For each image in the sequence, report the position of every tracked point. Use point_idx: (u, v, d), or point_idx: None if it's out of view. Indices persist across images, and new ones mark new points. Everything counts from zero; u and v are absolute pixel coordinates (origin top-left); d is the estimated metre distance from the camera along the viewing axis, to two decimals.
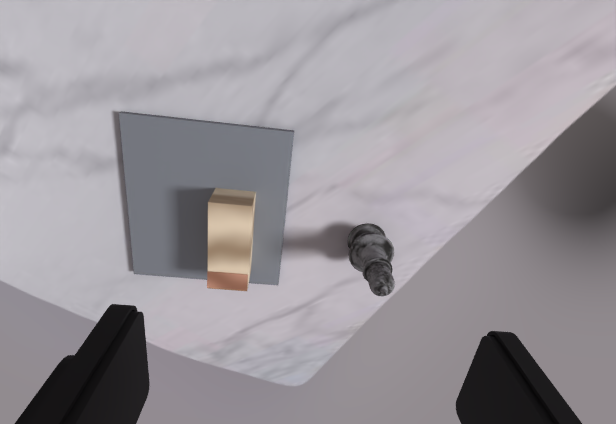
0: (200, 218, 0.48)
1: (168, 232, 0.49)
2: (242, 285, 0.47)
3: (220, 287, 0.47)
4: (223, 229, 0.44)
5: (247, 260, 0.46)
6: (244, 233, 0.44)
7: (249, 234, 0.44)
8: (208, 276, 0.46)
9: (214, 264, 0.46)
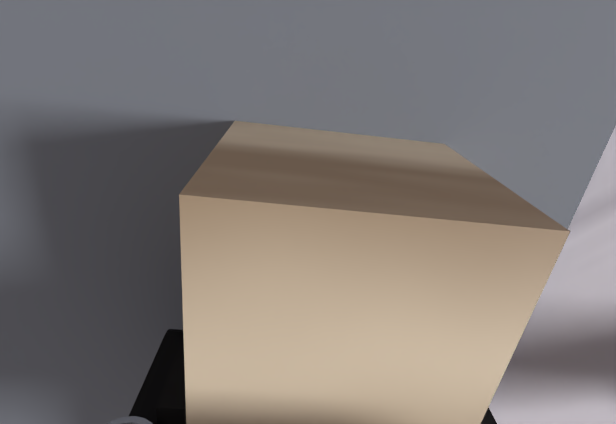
0: (160, 275, 0.10)
1: (20, 334, 0.11)
2: None
3: None
4: (301, 396, 0.06)
5: None
6: (440, 416, 0.06)
7: (473, 419, 0.06)
8: None
9: None
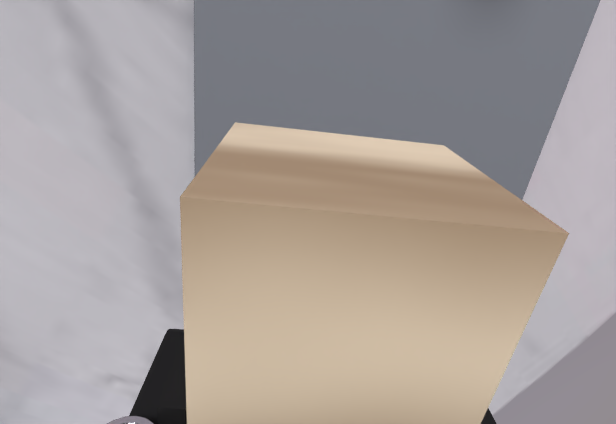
0: None
1: None
2: None
3: None
4: (301, 397, 0.06)
5: None
6: (440, 417, 0.06)
7: (473, 420, 0.06)
8: None
9: None
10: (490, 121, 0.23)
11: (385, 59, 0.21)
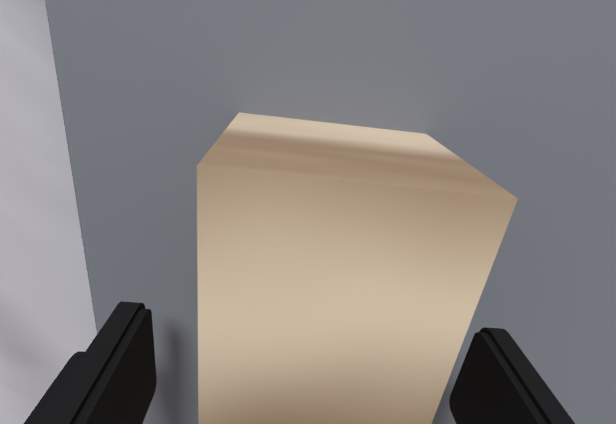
0: None
1: None
2: None
3: None
4: (296, 344, 0.07)
5: None
6: (416, 364, 0.07)
7: (445, 367, 0.07)
8: None
9: None
10: None
11: (498, 71, 0.09)
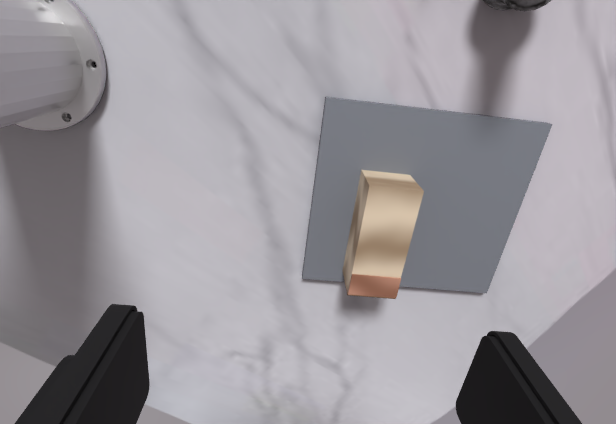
0: (428, 216, 0.39)
1: (440, 252, 0.41)
2: (391, 291, 0.38)
3: (363, 294, 0.38)
4: (382, 221, 0.34)
5: (403, 260, 0.36)
6: (406, 226, 0.35)
7: (412, 227, 0.35)
8: (352, 280, 0.37)
9: (361, 265, 0.36)
10: (489, 191, 0.38)
11: (428, 159, 0.37)
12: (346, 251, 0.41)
